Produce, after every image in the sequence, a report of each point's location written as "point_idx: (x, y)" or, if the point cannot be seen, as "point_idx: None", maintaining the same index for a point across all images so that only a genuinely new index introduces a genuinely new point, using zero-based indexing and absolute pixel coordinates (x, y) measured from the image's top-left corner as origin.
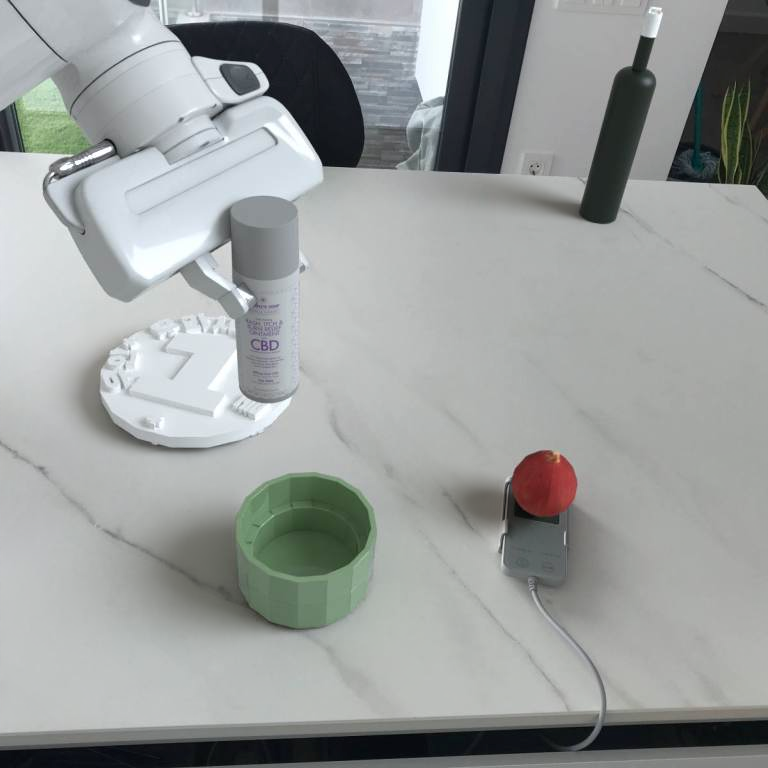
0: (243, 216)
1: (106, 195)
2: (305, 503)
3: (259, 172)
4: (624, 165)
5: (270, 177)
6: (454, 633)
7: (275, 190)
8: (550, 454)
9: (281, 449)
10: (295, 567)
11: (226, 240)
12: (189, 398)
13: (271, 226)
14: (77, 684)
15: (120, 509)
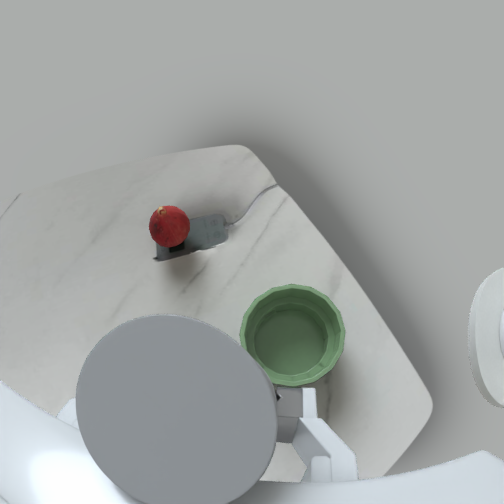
0: (233, 459)
1: None
2: (255, 359)
3: (22, 477)
4: None
5: (19, 452)
6: (281, 249)
7: (40, 437)
8: (162, 211)
9: None
10: (290, 349)
11: None
12: None
13: (241, 351)
14: (409, 400)
15: (303, 473)
